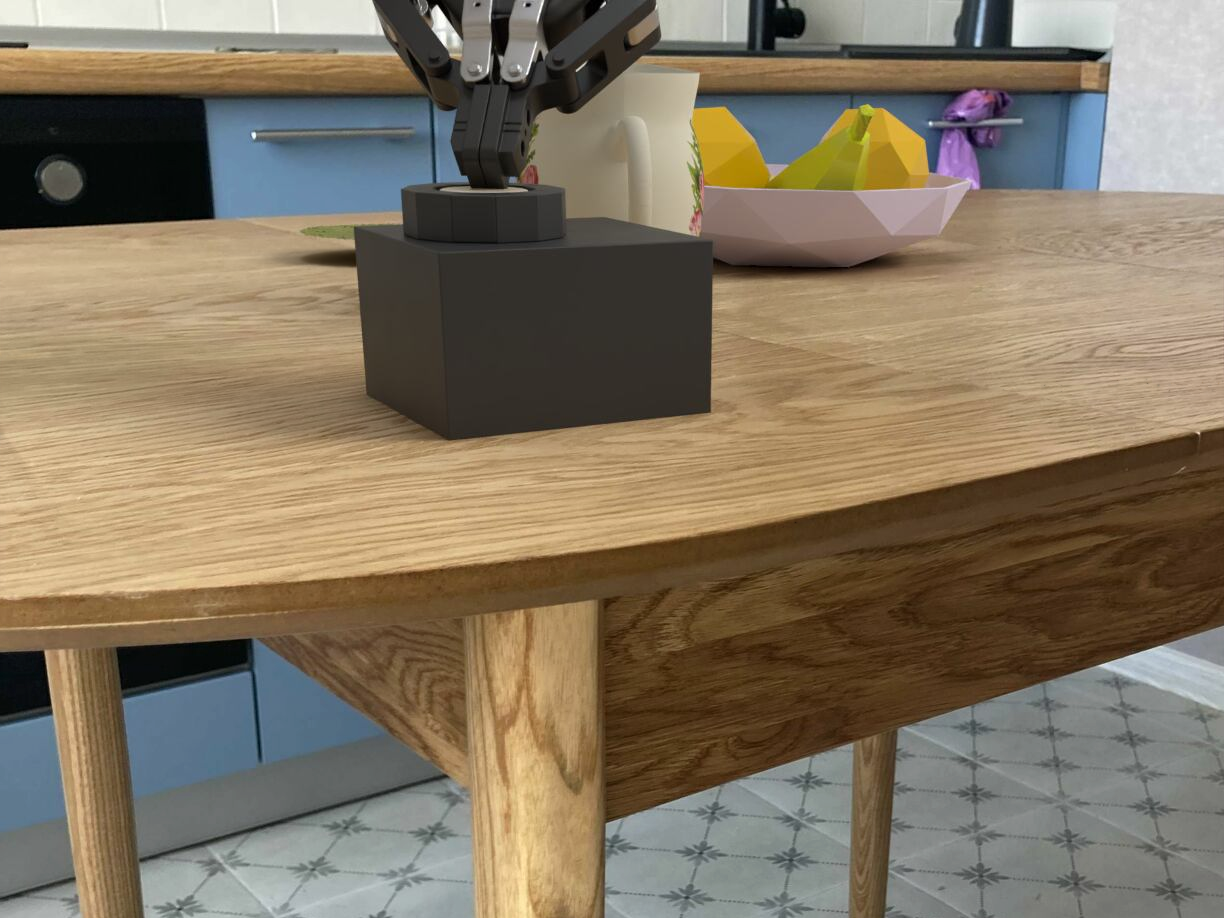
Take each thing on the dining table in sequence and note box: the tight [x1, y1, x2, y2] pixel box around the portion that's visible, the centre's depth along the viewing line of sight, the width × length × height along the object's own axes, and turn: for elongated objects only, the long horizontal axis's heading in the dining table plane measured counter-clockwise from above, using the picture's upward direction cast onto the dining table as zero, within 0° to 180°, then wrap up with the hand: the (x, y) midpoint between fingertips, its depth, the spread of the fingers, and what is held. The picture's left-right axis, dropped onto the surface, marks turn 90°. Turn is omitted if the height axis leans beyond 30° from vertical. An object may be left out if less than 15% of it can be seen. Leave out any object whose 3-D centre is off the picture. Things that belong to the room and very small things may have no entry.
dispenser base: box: [354, 181, 714, 442], centre depth 66 cm, size 12×10×9 cm
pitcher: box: [514, 61, 704, 237], centre depth 89 cm, size 11×18×14 cm, turn 14°
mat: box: [299, 222, 401, 241], centre depth 113 cm, size 11×11×2 cm
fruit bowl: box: [692, 103, 974, 268], centre depth 115 cm, size 28×27×11 cm
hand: (484, 175), depth 63 cm, fingers closed
